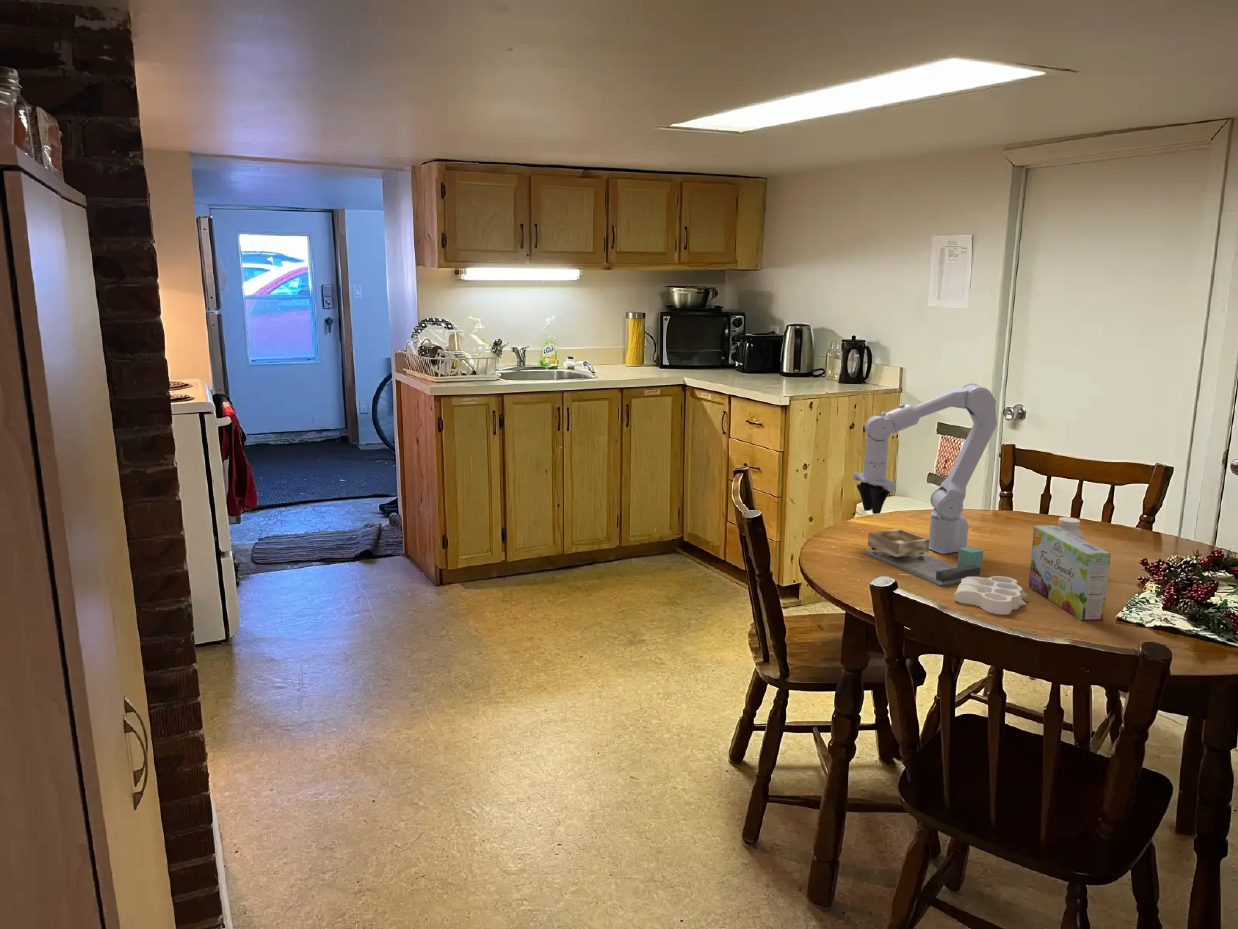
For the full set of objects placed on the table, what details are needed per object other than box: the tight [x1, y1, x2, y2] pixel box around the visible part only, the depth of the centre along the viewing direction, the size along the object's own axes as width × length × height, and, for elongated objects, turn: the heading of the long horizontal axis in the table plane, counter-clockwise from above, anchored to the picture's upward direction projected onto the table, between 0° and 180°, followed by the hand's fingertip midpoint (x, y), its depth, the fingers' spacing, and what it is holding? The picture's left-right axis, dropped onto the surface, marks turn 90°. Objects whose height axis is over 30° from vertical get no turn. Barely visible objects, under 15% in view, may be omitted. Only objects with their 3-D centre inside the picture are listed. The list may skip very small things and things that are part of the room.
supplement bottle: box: [1057, 516, 1084, 540], centre depth 215 cm, size 7×7×13 cm
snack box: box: [1028, 524, 1112, 622], centre depth 193 cm, size 21×6×15 cm, turn 5°
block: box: [956, 546, 984, 571], centre depth 216 cm, size 4×4×5 cm
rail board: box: [864, 548, 982, 586], centre depth 218 cm, size 12×27×3 cm, turn 25°
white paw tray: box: [953, 575, 1030, 616], centre depth 196 cm, size 3×18×15 cm
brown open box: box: [867, 528, 930, 559], centre depth 225 cm, size 11×11×4 cm
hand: (872, 511), depth 233 cm, fingers open, 3 cm apart
